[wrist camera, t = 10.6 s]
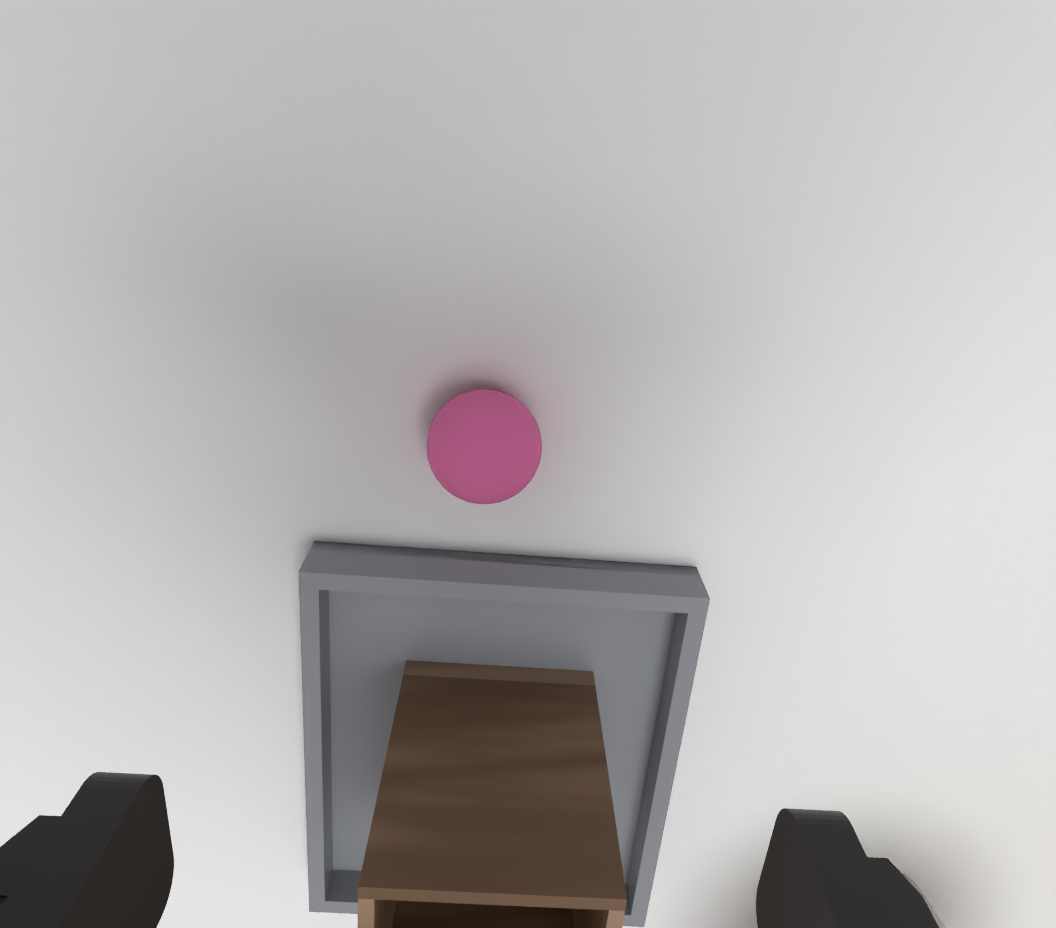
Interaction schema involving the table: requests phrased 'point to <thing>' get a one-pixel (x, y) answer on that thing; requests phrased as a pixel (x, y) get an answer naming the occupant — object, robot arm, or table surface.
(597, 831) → the pen cup
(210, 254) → the table surface
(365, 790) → the tray
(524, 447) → the ball
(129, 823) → the robot arm
